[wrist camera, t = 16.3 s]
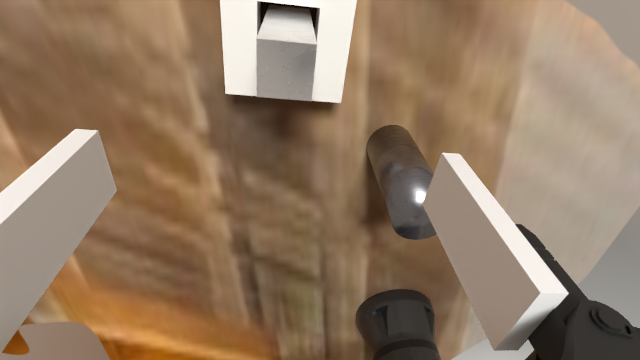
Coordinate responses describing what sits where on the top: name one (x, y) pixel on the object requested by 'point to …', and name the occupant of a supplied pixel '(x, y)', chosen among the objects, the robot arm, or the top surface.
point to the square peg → (286, 54)
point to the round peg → (402, 180)
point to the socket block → (330, 32)
